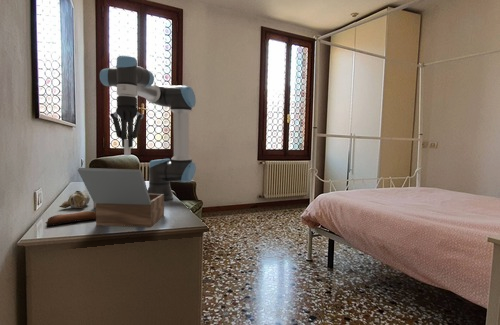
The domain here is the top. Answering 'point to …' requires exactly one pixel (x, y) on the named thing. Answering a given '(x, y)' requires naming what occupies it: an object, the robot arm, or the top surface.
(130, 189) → the lid
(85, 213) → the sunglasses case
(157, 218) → the walnut box
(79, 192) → the ceramic sculpture
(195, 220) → the top surface
